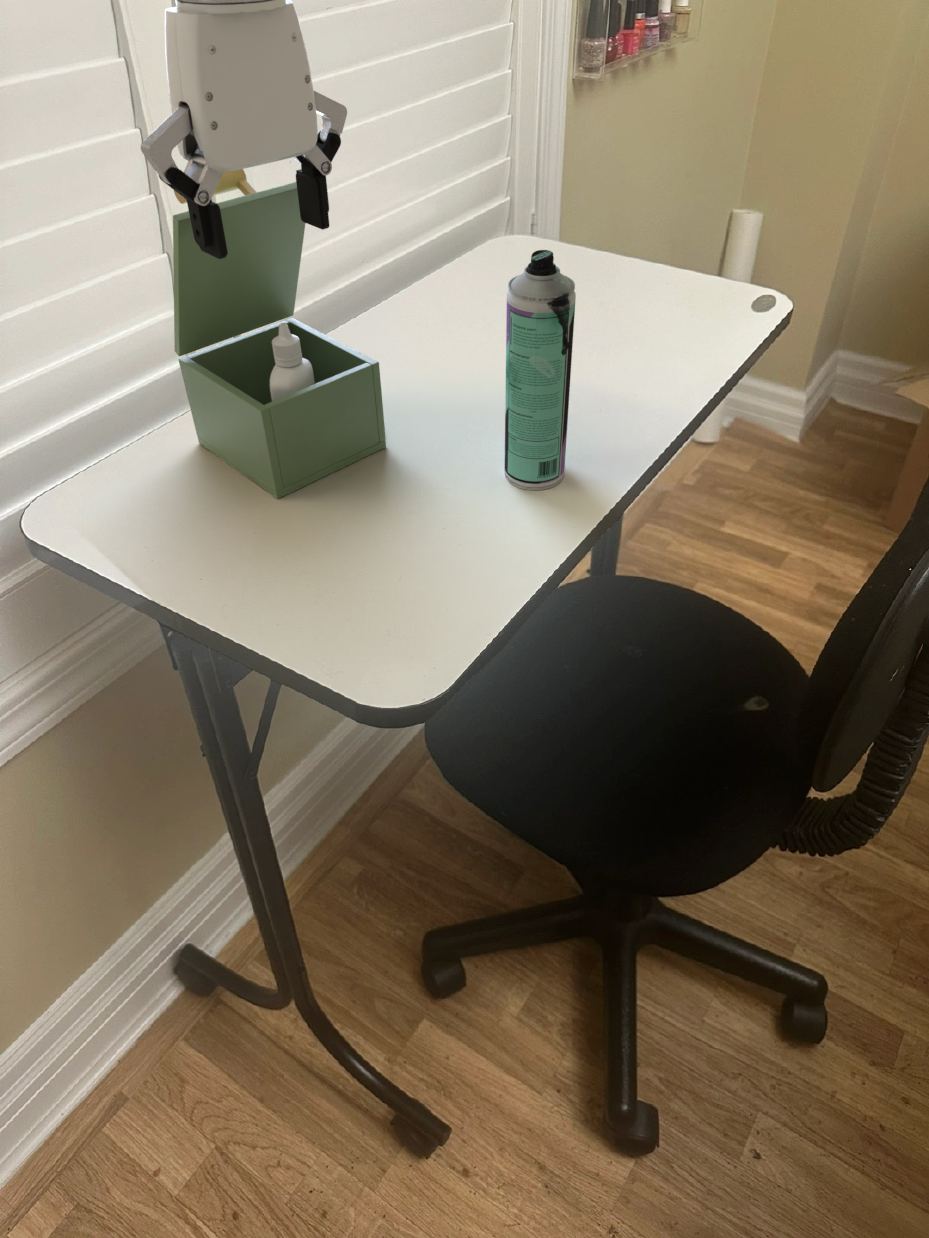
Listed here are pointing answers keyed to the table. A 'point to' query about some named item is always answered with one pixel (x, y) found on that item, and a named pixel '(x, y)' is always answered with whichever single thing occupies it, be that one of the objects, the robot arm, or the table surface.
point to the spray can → (538, 373)
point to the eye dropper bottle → (289, 365)
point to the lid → (237, 266)
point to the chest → (285, 408)
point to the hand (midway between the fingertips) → (266, 239)
